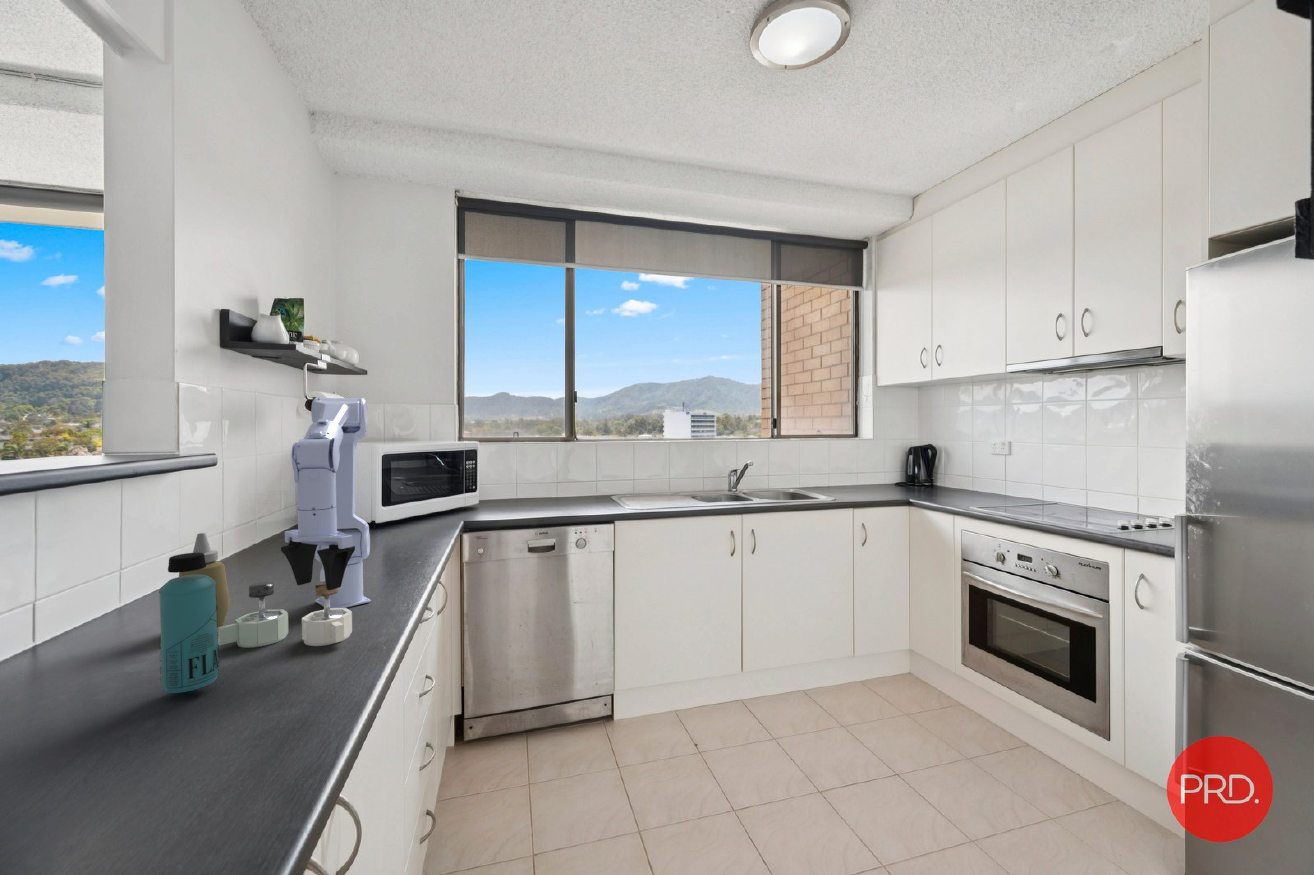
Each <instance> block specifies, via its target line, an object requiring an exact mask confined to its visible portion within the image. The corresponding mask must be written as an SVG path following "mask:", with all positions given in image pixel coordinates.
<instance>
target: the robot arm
mask: <svg viewBox="0 0 1314 875" xmlns="http://www.w3.org/2000/svg"><path fill="white" fill-rule="evenodd" d="M310 414H311V415H310V416H311V419H312V420H311V421H312V424H311V425H310V426H309V427H308V429H307V431H306V433H305V435H304V437H303V439H302V438H301V439H299V440H298V441H297V442H293V444H292V447H291V456H290V457H291V463H292V464H291V465H292V469H293V480H294V483H295V484H296V488H297V490H296V491H297V493H296V494H297V495H296V497H297V501H296V502H297V528H298V529H291V530H286V531H284V542H285V543H288V545H283V546H281V547H280V550H281V552H282V554H283V555H284V556H285V557H286V559H287V562H289V565H290V567H291V570H292V573H293V576H294V580H295V582H296V585H297V586H302V585H306V584H309V583H311V582H312V579H313V567H314V566H313V565H314V561H315V560H316V561H317V562H318V563H321V566H322V567H321V569H320V572H319V579H320V580H319V582H323V581H325V582H326V587H327V590H333V589H336V588H338V593H336V594H334V595H330V608H350V607H354V606H358V605H362V604H366V603H370V602H372V601H371V599H370V598H368V597H366V596H364V576H363V575H364V573H363V572H364V569H363V568H364V566H363V565H364V564H363V561H364V560H365V559H367V558H368V557H369V555H370V553H371V552H370V551H371V535H370V534H371V533H370V525H369V524H368V522H367V521H366V520H364V519H363V518H361V517H359V516H358V515H356V450H357V446H358V442H359V440H361V439H363V438H365V437H366V436H367V432H368V414H369V412H368V402H367V400H366V399H365V398H364V397H359V398H357V397H356V398H354V397H353V398H351V397H349V398H348V397H342V398H341V397H317V396H316V397H315V398H314V399H313V400H312V402H311V413H310ZM345 529H354V530H345ZM339 530H343V531H339ZM314 559H315V560H314ZM315 602H316V603H317V604H319V605H320V606H321V607H323V608H324V596H320V598H317V599H315Z"/></svg>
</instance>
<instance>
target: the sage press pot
mask: <svg viewBox="0 0 1314 875" xmlns="http://www.w3.org/2000/svg"><path fill="white" fill-rule="evenodd" d="M265 613H278V614H279V616H278V617H276V618H273V619H269V620H264V621H260V622H245V619H246V618H248V617H250V616H253V615H257V614H259V610H258V611H253V612H250V613H246V614H244V615H242V616H239V617H238V618H236V619H234V620H235V623H232V624H228V625H227V624H226V625H222V626H221V627H218V628H217V632H218V633H217V638H219V639H217V640H218V641H217V645H219V646H223V645H225V644H230V643H236V644H237V647H239V648H246V649H247V648H248V649H249V648H250V649H251V648H259V647H264V646H265V647H266V646H269V645H273V644H275V643H279V642H280V641H282V640H284V639H286V638H287V637H288V636H287V635H288V634H289V613H288V611H287V610H285V609H284V608H283V609H265ZM218 636H219V637H218Z"/></svg>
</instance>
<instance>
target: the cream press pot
mask: <svg viewBox="0 0 1314 875" xmlns="http://www.w3.org/2000/svg"><path fill="white" fill-rule="evenodd" d="M331 611H340V612H343V615H342V616H341V617H337V618H333V619H329V620H322V621H311V617H313V616H314V615H317V614H320V613H324V609H322V610H315V611H312V612H310V613H308V614H306V615H304V616H303V617H301V640H302V641H303V644H304V645H306V646H309V647H310V646H311V647H320V646H321V647H322V646H323V647H324V646H329V645H333V644H337V643H340V642H344V640H347V639H349V637H350V636H351V633H352V632H353V611H352V610H351V609H348V607H346V608H330V612H331Z"/></svg>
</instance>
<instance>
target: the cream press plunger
mask: <svg viewBox="0 0 1314 875" xmlns="http://www.w3.org/2000/svg"><path fill="white" fill-rule="evenodd" d="M336 593H338V588H336V589H333V590H327V587H326V582H325V581H323V582H320V581H319V582H316V583H314V595H315V597H321V596H324V607H323V610H324V613H320V614H317V615H314V616H313V617H311V621H322V620H329V619H333V618H337V617H341V616H342V615H343V612H340V611H331V612H330V595H334V594H336Z"/></svg>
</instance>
